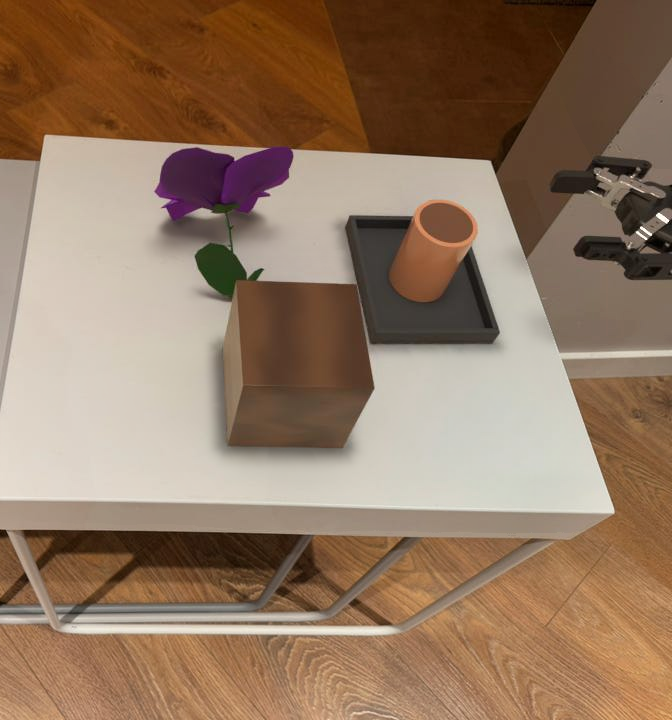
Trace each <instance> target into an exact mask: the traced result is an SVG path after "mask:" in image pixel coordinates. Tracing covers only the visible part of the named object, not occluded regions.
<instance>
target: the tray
mask: <svg viewBox="0 0 672 720" xmlns="http://www.w3.org/2000/svg"><path fill="white" fill-rule="evenodd" d="M413 216H414V215H367V214H366V215H365V214H364V215H357V214H349V215H348V219H347V221H346V224H345V226H344V227H345V232H346V237H347V242H348V246H349V250H350V251H349V252H350V255H351V260H352V264H353V270H354V273H355V279H356V282H357V283H356V284H357V289H358V294H359V298H360V303H361V307H362V310H363V315H364V316H363V317H364V320H365V324H366V329H367V334H368V339H369V343H370V345H373V344H374V345H384V344H385V345H390V344H391V345H396V344H397V345H402V344H403V345H408V344H411V345H415V344H417V345H418V344H420V345H422V344H423V345H424V344H427V345H430V344H431V345H432V344H437V345H439V344H441V345H442V344H443V345H445V344H448V345H449V344H455V345H458V344H459V345H460V344H463V345H466V344H469V345H471V344H477V345H479V344H480V345H481V344H482V345H483V344H487V345H488V344H490V345H491V344H493V343H495V341H496V339H497V338H498V337H499V335H500V333H501V331H500V328H499V325H498V322H497V319H496V316H495V313H494V310H493V307H492V303H491V301H490V298H489V294H488V292H487V289H486V285H485V283H484V280H483V277H482V274H481V271H480V268H479V264H478V262H477V259H476V254H475V251H474V249H473V247H472V245H471V247H470V248H469V250H468V252H467V254H466V255H465V257H464V259H463V261H462V262H461V264H460V266H459V268H458V269H457V271H456V273H455V275H454V276H453V278H452V280H451V282H450V283H449V285H448V287H447V289H446V290H445V292H444V294H443V295H442V296H441V297H440V298H438V299H437V300H434V301H431V302H416V301H412V300H409V299H407V298H405V297H403V296H402V295H400V294H399V293H398V292H397V291H396V290H395V289H394V288H393V286H392V285H391V283H390V280H389V269H390V266H391V264H392V262H393V260H394V258H395V255H396V253H397V251H398V249H399V247H400V244H401V242H402V240H403V238H404V236H405V233H406V231H407V229H408V227H409V225H410V223H411V220H412V218H413Z"/></svg>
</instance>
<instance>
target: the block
mask: <svg viewBox="0 0 672 720" xmlns="http://www.w3.org/2000/svg"><path fill="white" fill-rule="evenodd" d="M222 344H223V345H222V362H223V363H222V364H223V382H224V384H223V385H224V401H225V402H224V403H225V423H226V424H225V425H226V426H225V427H226V445H227V447H229V446H230V447H273V448H274V447H278V448H279V447H281V448H285V447H286V448H333V449H334V448H341V449H343V448H344V446H345V444H346V442H347V440H348V439H349V437H350V436H351V433H352V431H353V430H354V428H355V427H356V424H357V423H358V420H359V418H360V417H361V415H362V413H363V411H364V409H365V408H366V405H367V403H368V402H369V400H370V398H371V397H372V394H373V393H374V391H375V389H376V388H375V383H374V381H375V380H374V376H373V370H372V364H371V360H370V359H371V358H370V354H369V353H370V351H369V348H368V341H367V336H366V330H365V324H364V319H363V312H362V305H361V299H360V294H359V288H358V283H335V282H334V283H332V282H303V281H302V282H301V281H277V280H276V281H275V280H274V281H273V280H256V281H247V280H236V284H235V289H234V294H233V296H232V299H231V304H230V310H229V314H228V320H227V324H226V329H225V334H224V340H223V343H222Z"/></svg>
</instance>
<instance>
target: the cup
mask: <svg viewBox="0 0 672 720" xmlns="http://www.w3.org/2000/svg"><path fill="white" fill-rule="evenodd" d="M412 216H413V218H412V220H411V223H410V225H409V227H408V229H407V231H406V233H405V236H404V238H403V240H402V242H401V244H400V247H399V249H398V251H397V253H396V255H395V258H394V260H393V262H392V264H391V266H390V269H389V280H390V283H391V285H392V286H393V288H394V289H395V290H396V291H397V292H398V293H399V294H400V295H402V296H403V297H405V298H407V299H409V300H412V301H416V302H431V301H434V300H437V299H438V298H440V297H441V296H442V295H443V294H444V292H445V290H446V289H447V287H448V285H449V283H450V282H451V280H452V278H453V276H454V275H455V273H456V271H457V269H458V268H459V266H460V264H461V262H462V261H463V259H464V257H465V255H466V254H467V252H468V250H469V248H470V247H471V246H472V245H473V243H474V241H475V240H476V238H477V235H478V231H479V229H478V228H479V227H478V223H477V221H476V218H475V217H474V216H473V214H471V212H470V211H469V210H468V209H467V208H465V207H464V206H463V205H460V204H458V203H456V202H453V201H450V200H447V199H430V200H427V201H425V202H423V203H421V204H419V206H418V207H417V208H416V210H415V212H414V214H413V215H412Z"/></svg>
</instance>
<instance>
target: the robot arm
mask: <svg viewBox="0 0 672 720" xmlns="http://www.w3.org/2000/svg"><path fill="white" fill-rule="evenodd" d="M652 167H653V164H652V163H651V162H650V161H649V160H647V159H638V158H626V157H616V156H607V155H606V156H605V155H595V156H594V157H593V159H592V161H590V163H589V165H588V166H587V168H586V170H575V169H574V170H572V169H561V170H559V171H558V172H556V173H555V174H554V175H553V177H552V179H551V180H550V181H549V183H548V188H549V190H550V193H554V194H555V193H556V194H574V195H584V194H587V195H589V196H591V197H593V198H595V199H596V200H599V202H600V206H602V207H603V208H605V209H607V210H609V211H611V212H613V213H614V214H615V216H616V218H617V220H618V221H619V222H620V224H621V230H622V233H623V235H625V236H628V237H627V238H626V239H625V240H624V241H623V239H622V237H621V236H605V235H604V236H603V235H583V236H582V237H581V238H579V239H578V241H577V243H576V244H575V245H574V246H573V248H572V251H573V253H574V256H575V257H576V258H582V259H585V260H587V261H601V262H612V263H613V264H615V265H617V266H621V267H622V268H623V269H624V271H623V276H624V277H625V278H626V279H627V280H629V281H672V184H668V185H665V184H660V183H658V182H655V181H651V178H650V176H649V174H648V173H649V172H650V170H651V169H652ZM606 169H607V170H606ZM600 184H606V185H608V186H610V188H609V189H604V188H602V187H600V186H599V185H600ZM621 190H627V191H628V192H626V194H624V195H623V196H622V198H621V199H620V200H618V199H617V198H616V196H617V195H618V194H619V192H620V191H621ZM647 248H650V249H651V250H654V251H655V253H654V252H651V253H650V252H649V253H648V252H647V253H646V252H645V253H643V252H642V251H644V250H646V249H647ZM641 252H642V253H641ZM656 252H657V253H656Z"/></svg>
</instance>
